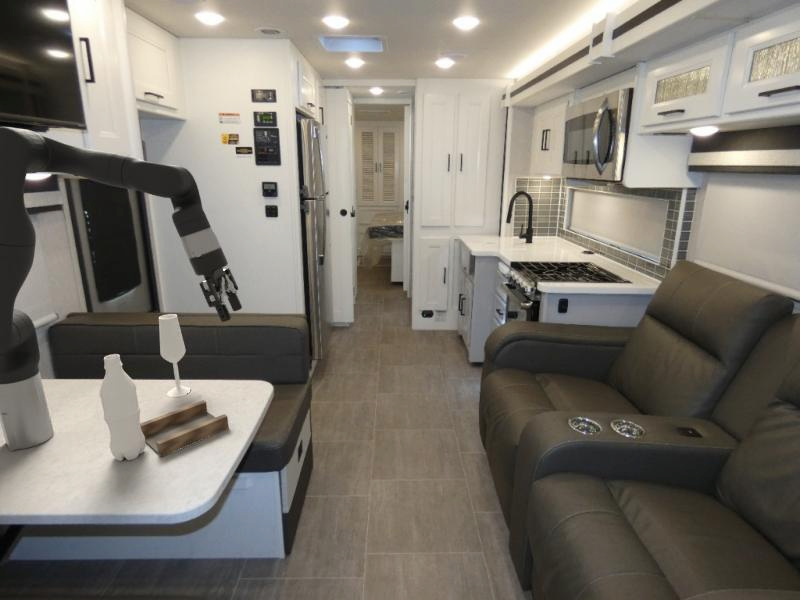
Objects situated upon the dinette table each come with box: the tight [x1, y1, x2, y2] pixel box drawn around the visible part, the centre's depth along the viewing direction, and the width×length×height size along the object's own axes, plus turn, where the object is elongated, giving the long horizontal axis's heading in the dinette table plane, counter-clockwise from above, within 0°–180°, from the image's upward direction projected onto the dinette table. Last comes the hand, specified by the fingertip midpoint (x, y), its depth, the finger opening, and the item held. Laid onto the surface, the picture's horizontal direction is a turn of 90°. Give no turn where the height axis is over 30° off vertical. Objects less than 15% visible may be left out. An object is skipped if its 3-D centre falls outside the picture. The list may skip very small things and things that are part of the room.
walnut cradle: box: [140, 399, 230, 458], centre depth 120 cm, size 17×13×4 cm
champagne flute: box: [158, 313, 191, 398], centre depth 139 cm, size 7×7×24 cm
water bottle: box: [99, 353, 147, 462], centre depth 108 cm, size 7×7×25 cm
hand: (232, 315), depth 112 cm, fingers open, 8 cm apart
